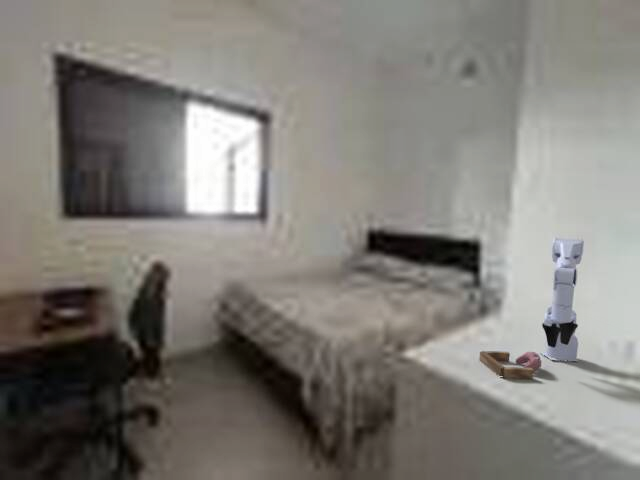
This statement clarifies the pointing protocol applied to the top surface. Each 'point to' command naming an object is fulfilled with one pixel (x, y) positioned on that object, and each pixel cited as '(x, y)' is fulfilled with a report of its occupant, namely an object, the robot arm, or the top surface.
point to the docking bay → (492, 362)
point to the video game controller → (530, 360)
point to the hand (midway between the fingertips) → (557, 345)
